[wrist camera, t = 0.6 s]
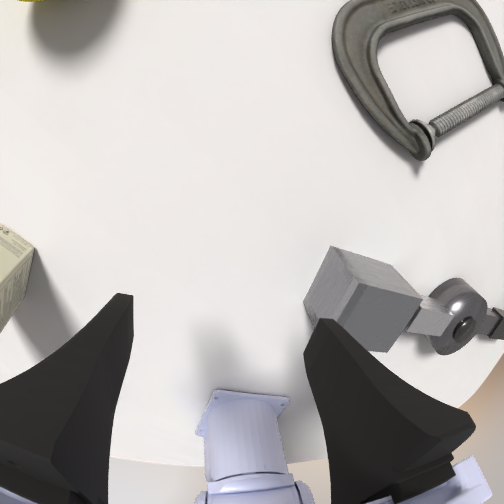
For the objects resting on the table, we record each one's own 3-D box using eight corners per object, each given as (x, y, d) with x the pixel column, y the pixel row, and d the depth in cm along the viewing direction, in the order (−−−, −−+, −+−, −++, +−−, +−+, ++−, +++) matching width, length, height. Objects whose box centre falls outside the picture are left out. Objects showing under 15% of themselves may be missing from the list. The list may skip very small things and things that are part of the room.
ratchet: (516, 301, 29) (534, 317, 25) (490, 340, 32) (506, 358, 28) (412, 260, 23) (440, 286, 19) (373, 325, 25) (393, 356, 22)
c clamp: (477, -16, 12) (496, -20, 9) (525, 143, 19) (543, 149, 17) (297, 1, 14) (309, -14, 11) (388, 221, 21) (406, 236, 19)
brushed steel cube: (390, 264, 23) (423, 299, 18) (362, 313, 25) (387, 352, 20) (330, 245, 21) (358, 282, 17) (302, 301, 23) (321, 345, 19)
